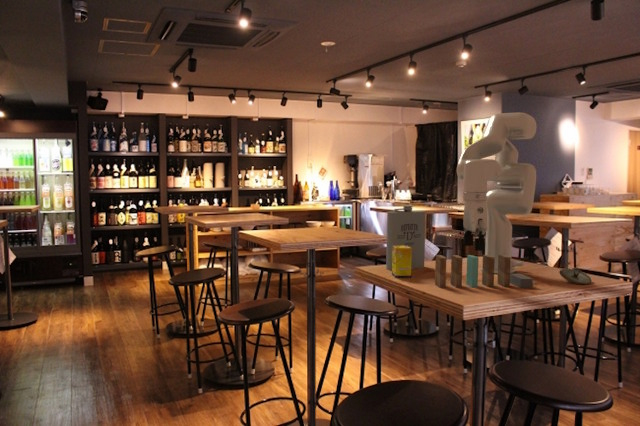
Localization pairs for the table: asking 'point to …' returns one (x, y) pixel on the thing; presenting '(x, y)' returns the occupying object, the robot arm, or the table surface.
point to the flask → (406, 234)
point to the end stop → (521, 281)
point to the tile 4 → (488, 270)
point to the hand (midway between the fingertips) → (473, 248)
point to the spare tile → (472, 271)
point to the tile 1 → (440, 271)
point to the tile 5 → (504, 270)
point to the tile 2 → (456, 271)
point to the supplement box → (401, 261)
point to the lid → (575, 276)
